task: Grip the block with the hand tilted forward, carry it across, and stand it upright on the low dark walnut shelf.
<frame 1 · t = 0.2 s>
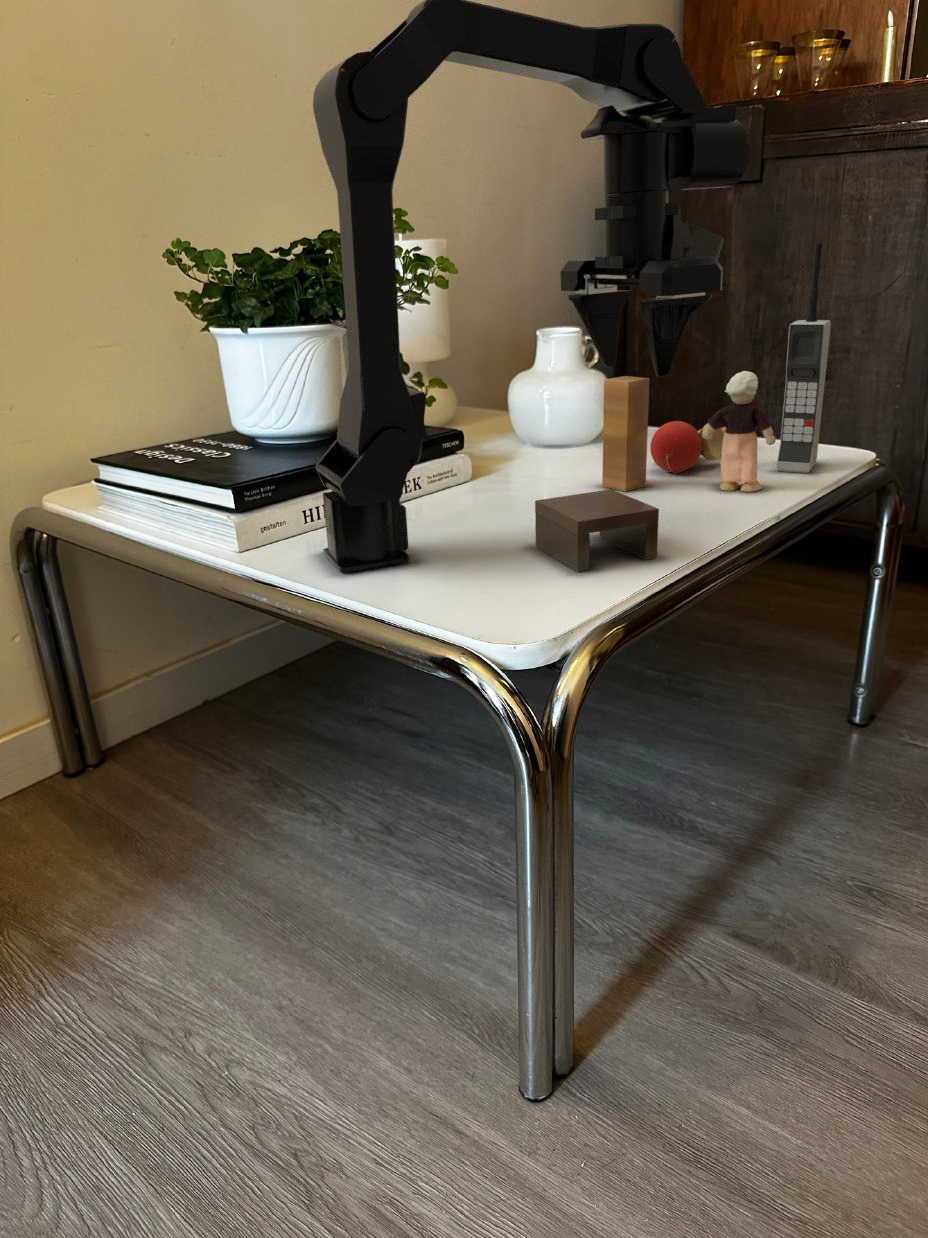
hand: (634, 370, 89), 14 cm above the table, tool pointing down, fingers open, 9 cm apart
shelf: (594, 552, 84), on the table
vintage mobile phone: (796, 469, 111), on the table
grandmother figurine: (734, 489, 103), on the table
kendama: (695, 463, 116), on the table
block: (623, 486, 106), on the table
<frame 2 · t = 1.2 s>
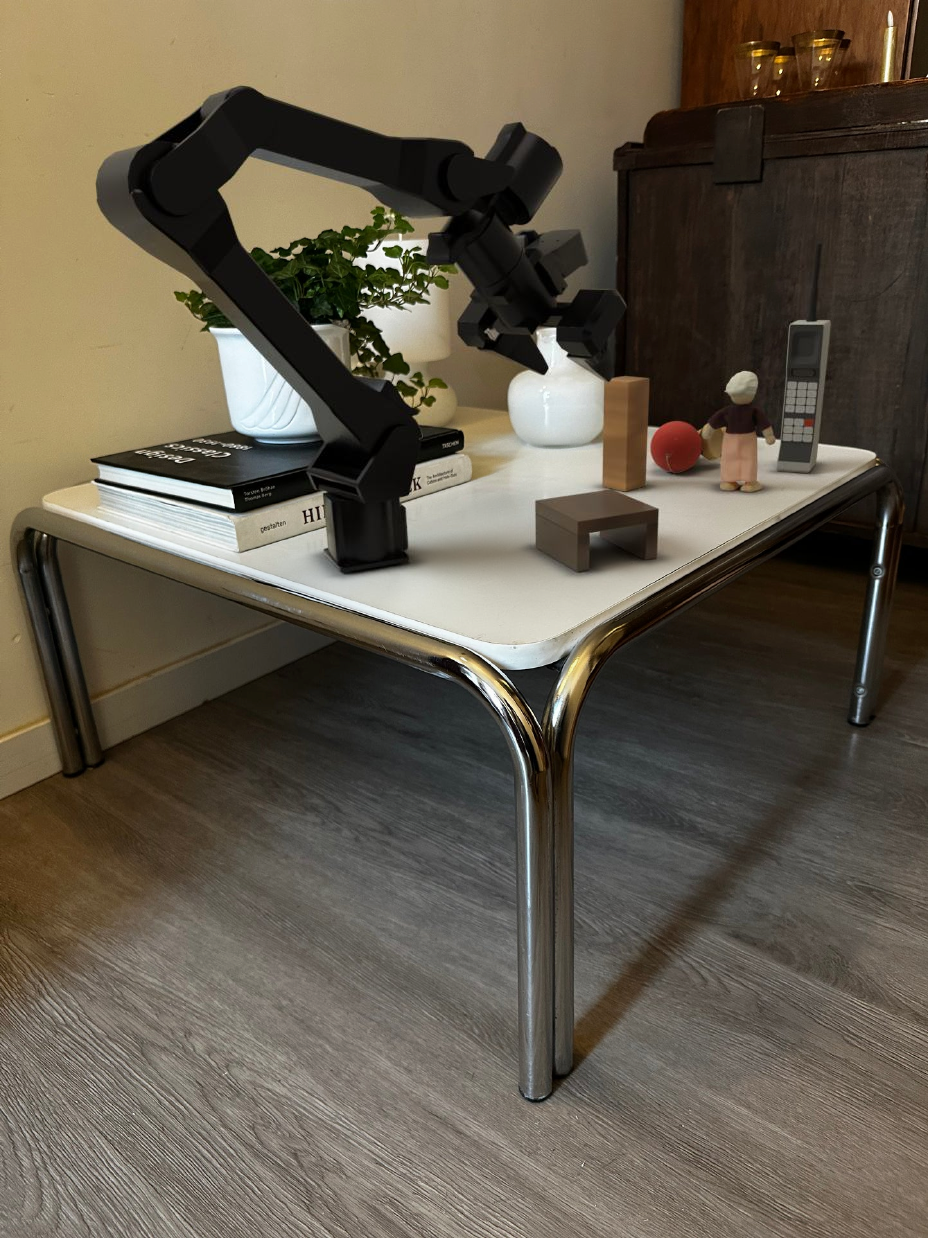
hand: (577, 374, 96), 13 cm above the table, tool tilted 45°, fingers open, 9 cm apart
nothing on the table moved.
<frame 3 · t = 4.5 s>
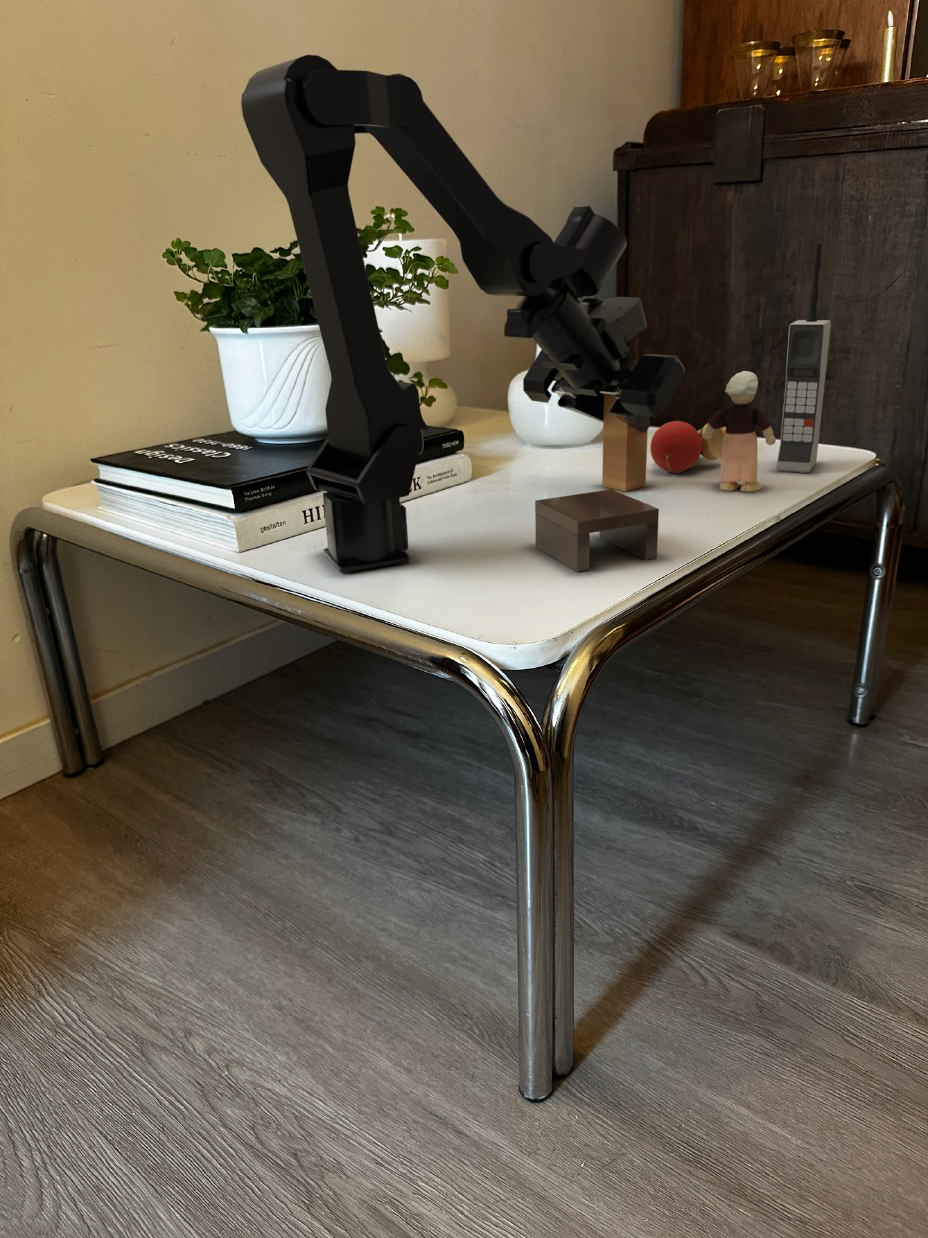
hand: (633, 426, 104), 7 cm above the table, tool tilted 45°, fingers closed on block, 3 cm apart
block: (623, 486, 106), on the table, touching gripper
everything else where it was.
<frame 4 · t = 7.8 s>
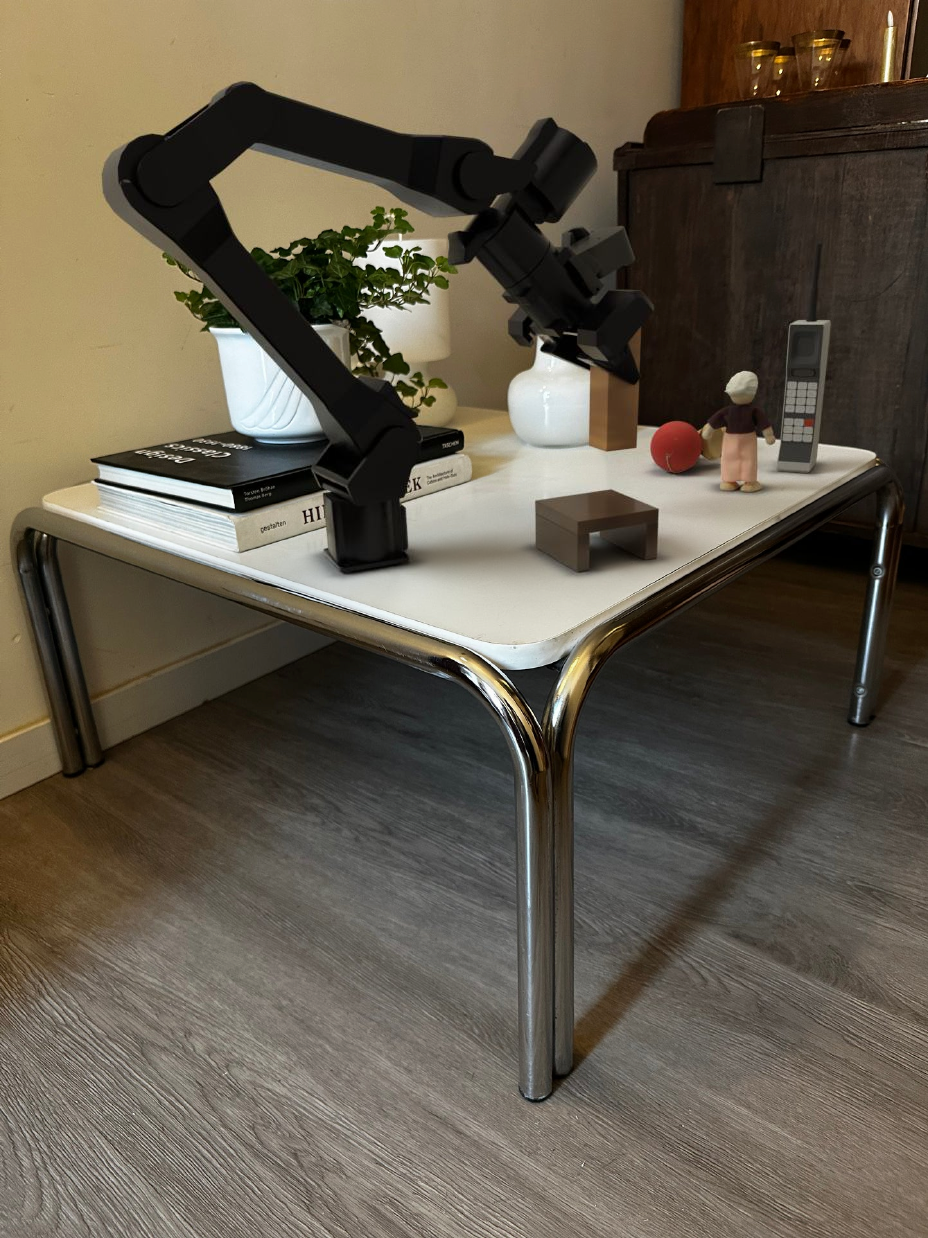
hand: (626, 379, 91), 13 cm above the table, tool tilted 45°, fingers closed on block, 3 cm apart
block: (612, 446, 93), point 7 cm above the table, touching gripper
everything else where it was.
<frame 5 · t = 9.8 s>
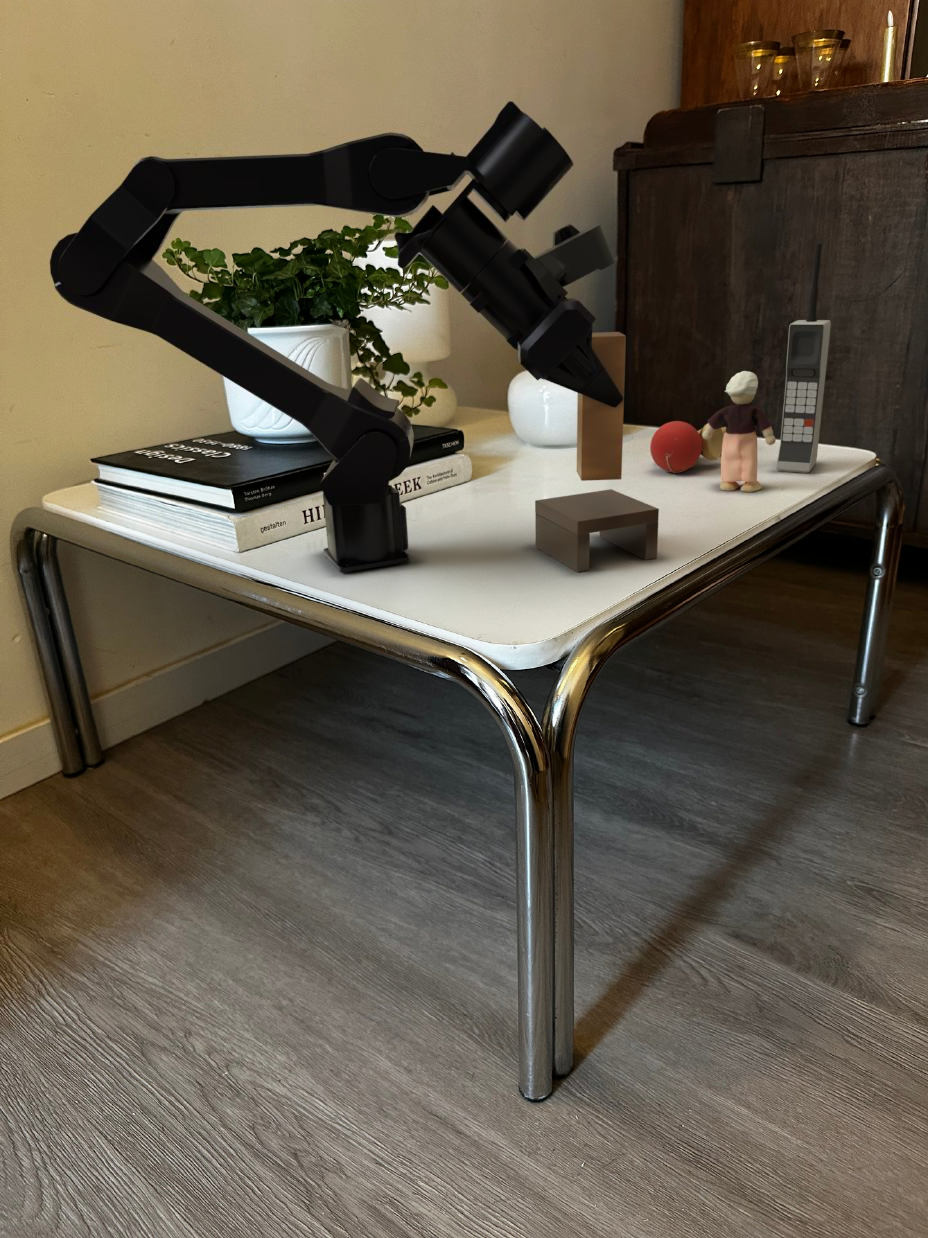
hand: (616, 399, 79), 13 cm above the table, tool tilted 45°, fingers closed on block, 3 cm apart
block: (598, 475, 82), point 7 cm above the table, touching gripper
everything else where it was.
when the fingers open (11 cm above the table, at t = 11.3 s): block stays where it is, resting on shelf.
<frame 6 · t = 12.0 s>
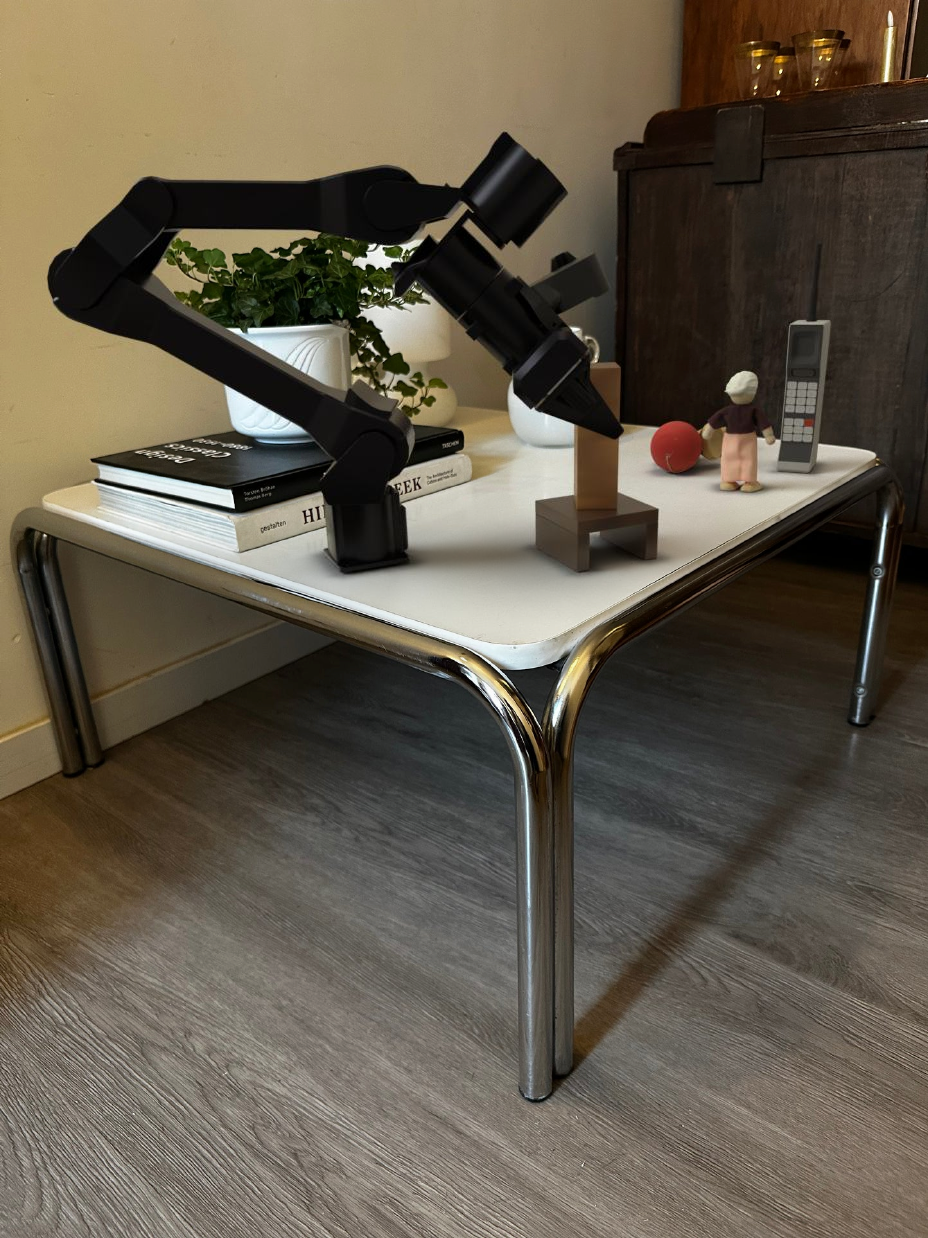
hand: (613, 424, 80), 11 cm above the table, tool tilted 45°, fingers open, 9 cm apart
block: (595, 504, 82), point 4 cm above the table, touching shelf
everything else where it was.
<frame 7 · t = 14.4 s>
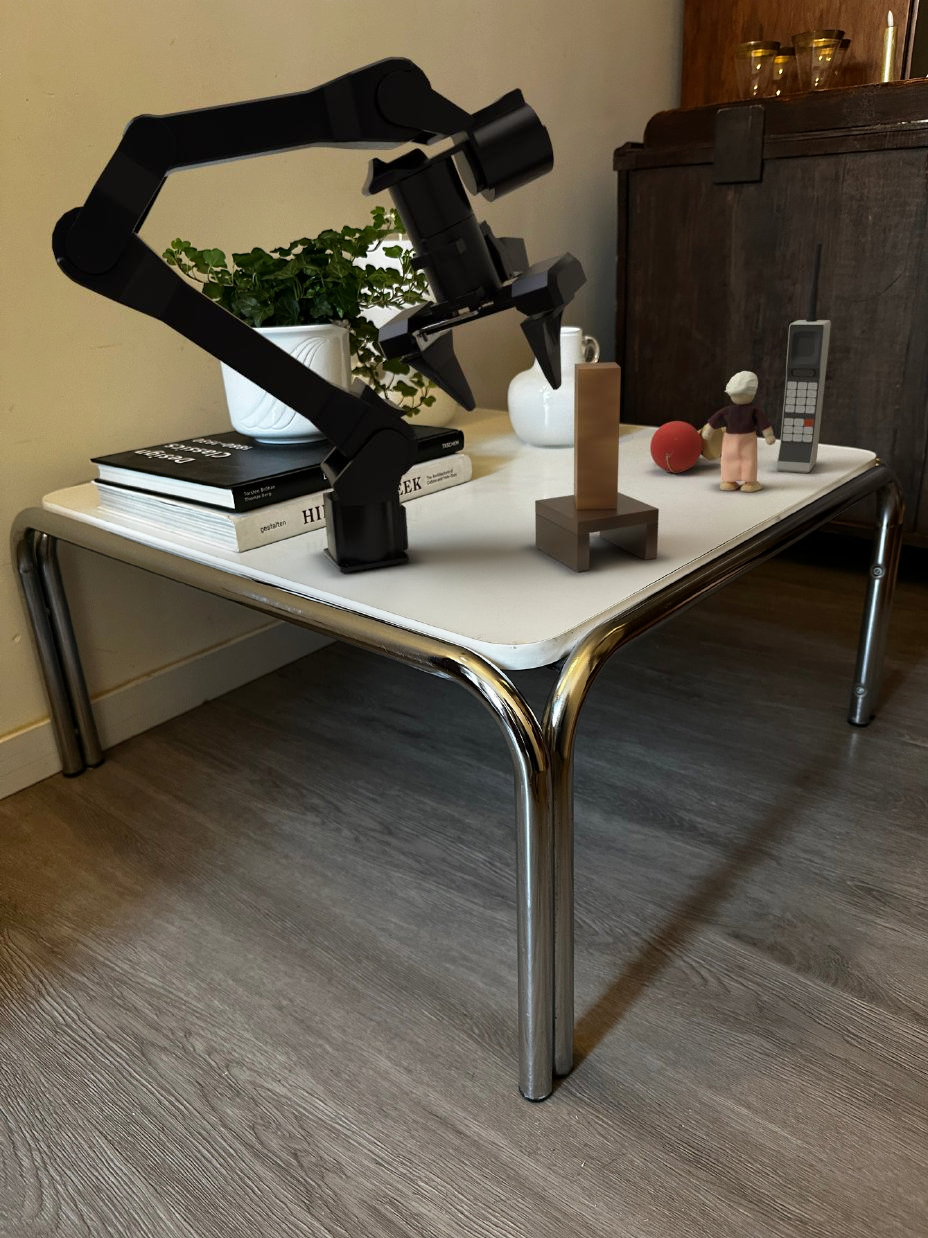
hand: (513, 399, 83), 13 cm above the table, tool tilted 25°, fingers open, 9 cm apart
nothing on the table moved.
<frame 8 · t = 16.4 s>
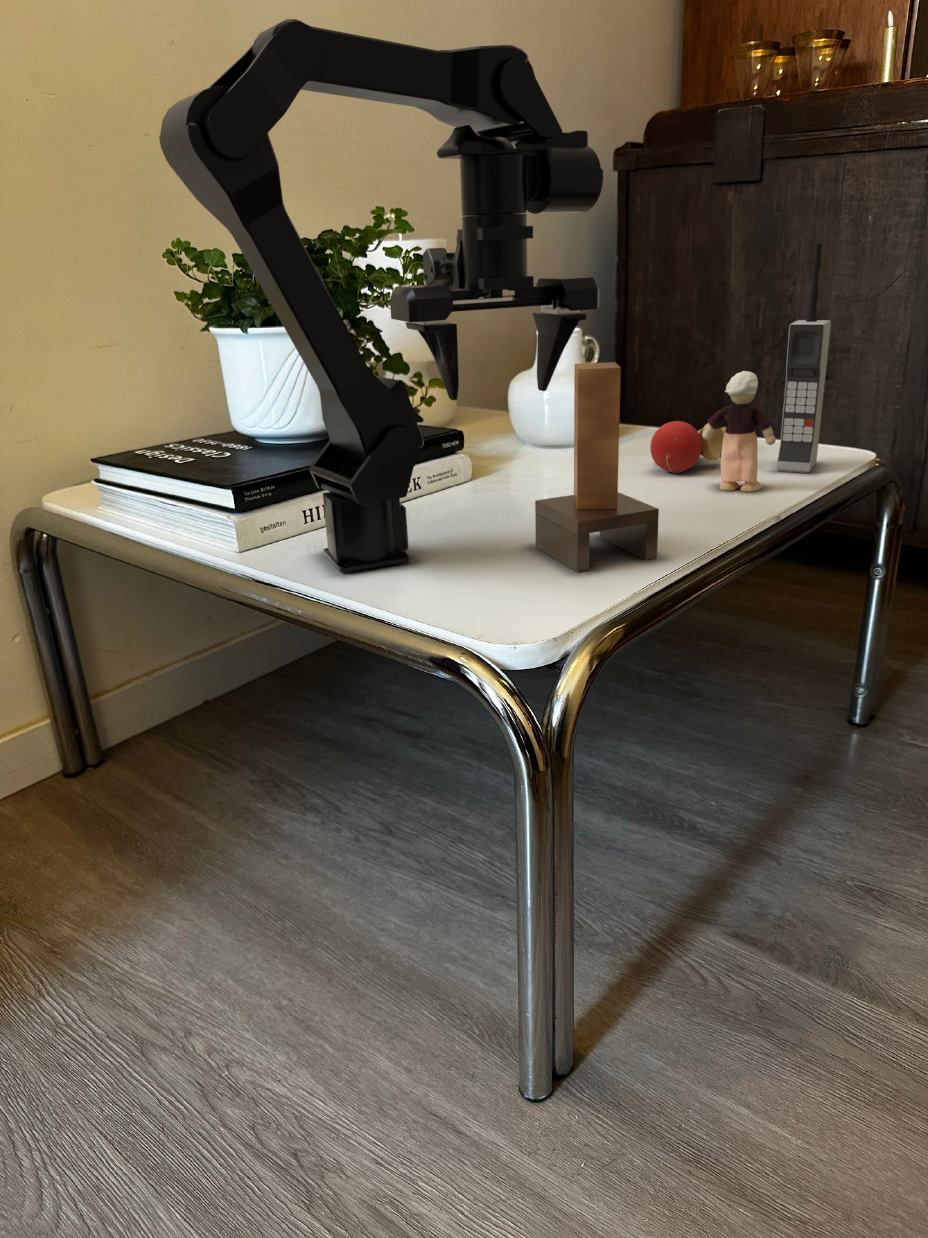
hand: (498, 394, 88), 13 cm above the table, tool pointing down, fingers open, 9 cm apart
nothing on the table moved.
at the end: block inside the target area on the shelf (0.0 cm from its centre), point 4.5 cm above the shelf's base; block tilted 0°; the gripper is holding nothing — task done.
